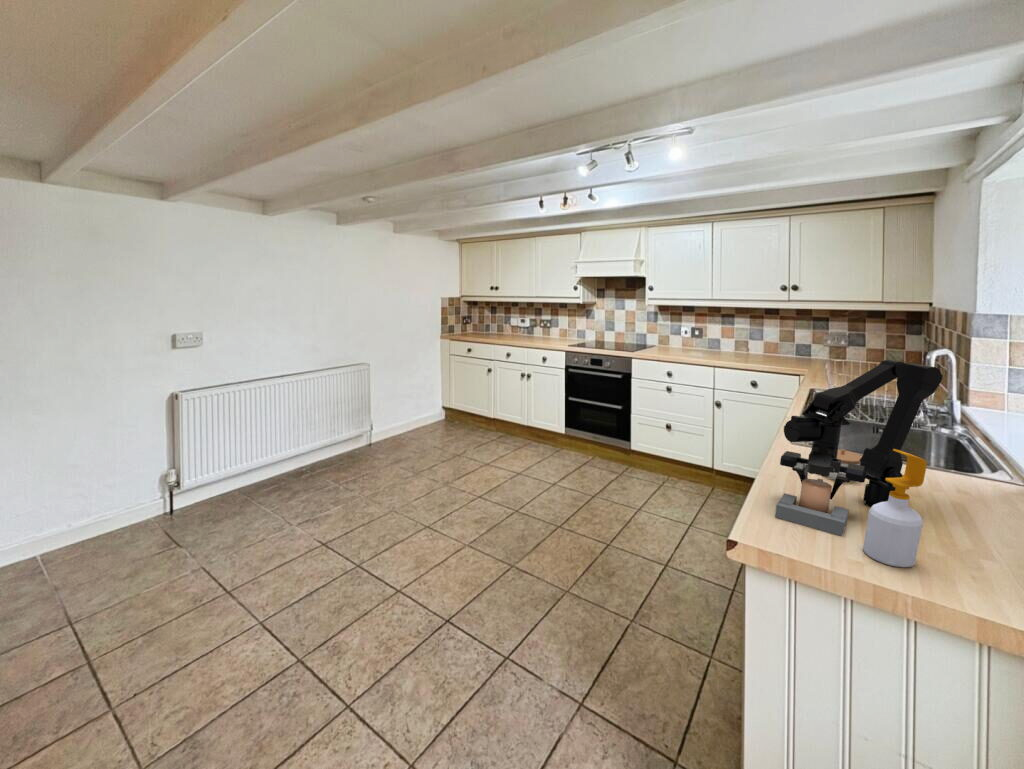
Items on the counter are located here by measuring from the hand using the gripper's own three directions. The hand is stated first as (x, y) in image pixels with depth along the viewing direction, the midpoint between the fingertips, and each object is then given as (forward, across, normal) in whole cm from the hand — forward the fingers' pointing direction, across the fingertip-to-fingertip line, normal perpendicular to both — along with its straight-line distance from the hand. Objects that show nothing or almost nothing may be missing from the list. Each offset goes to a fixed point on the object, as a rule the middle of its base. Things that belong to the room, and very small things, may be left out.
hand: (817, 495), depth 125 cm
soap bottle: (+4, +16, -17) cm, 24 cm away
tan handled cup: (+4, 0, -4) cm, 6 cm away
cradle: (+4, 0, -9) cm, 9 cm away
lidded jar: (+4, +2, +29) cm, 29 cm away
